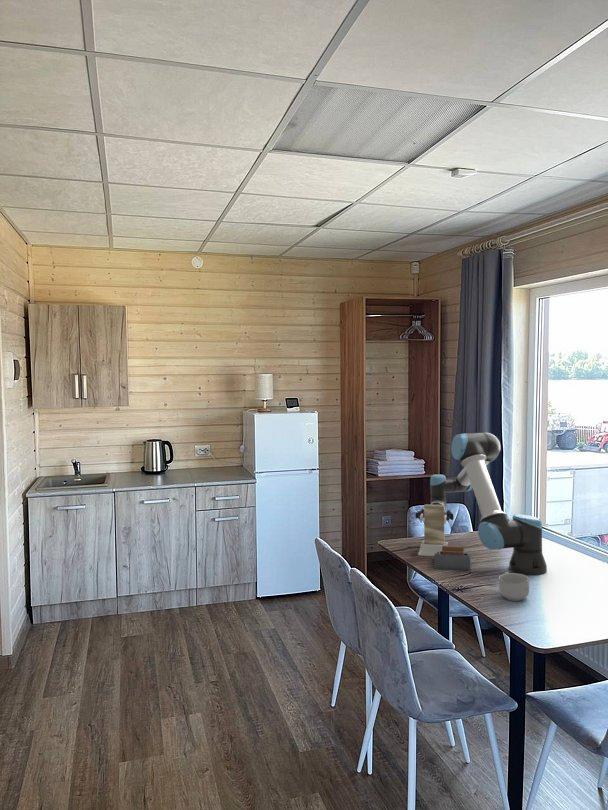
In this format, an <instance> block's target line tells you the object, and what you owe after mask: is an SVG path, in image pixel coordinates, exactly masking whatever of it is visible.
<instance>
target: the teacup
mask: <svg viewBox="0 0 608 810" xmlns="http://www.w3.org/2000/svg"><path fill="white" fill-rule="evenodd" d="M529 580H530V577H528V576H527V575H526V574H521V573H517V572H511V573H510V572H508V571H505V572H504V573H503V574H500V575H499V576H498V586H499V592H500V594H501V595H502V596H503V597H504V598H505V599H506V600H509V601H513V602H518V601H519V602H521V601H523V600H525V599H526V598H528V596H529V593H530V581H529Z"/></svg>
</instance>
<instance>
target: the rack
mask: <svg viewBox="0 0 608 810" xmlns="http://www.w3.org/2000/svg"><path fill="white" fill-rule="evenodd" d="M433 557H434V563H433V568H434V569H435V570H436V569H437V570H450V571H452V570H453V571H463V572H471V571H472V570H471V568H472V553H468V552H464V555H449V554H442V551H440V554H439V552H437V554H434V556H433Z"/></svg>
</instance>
